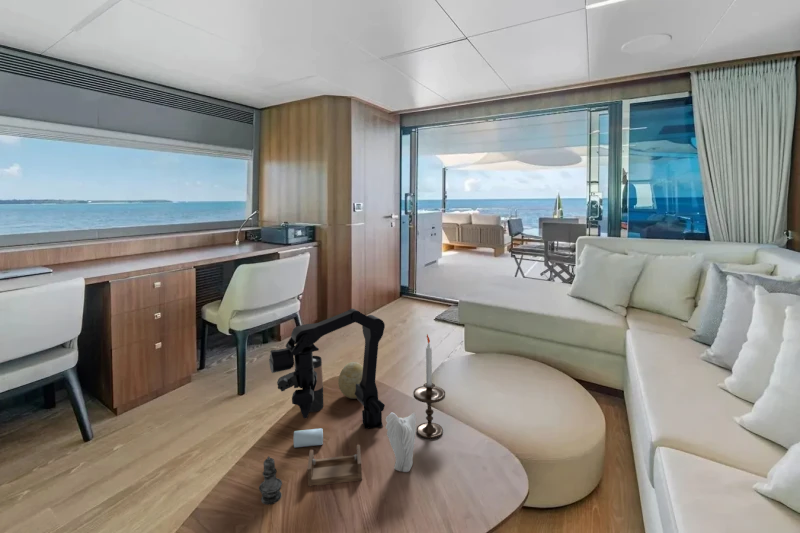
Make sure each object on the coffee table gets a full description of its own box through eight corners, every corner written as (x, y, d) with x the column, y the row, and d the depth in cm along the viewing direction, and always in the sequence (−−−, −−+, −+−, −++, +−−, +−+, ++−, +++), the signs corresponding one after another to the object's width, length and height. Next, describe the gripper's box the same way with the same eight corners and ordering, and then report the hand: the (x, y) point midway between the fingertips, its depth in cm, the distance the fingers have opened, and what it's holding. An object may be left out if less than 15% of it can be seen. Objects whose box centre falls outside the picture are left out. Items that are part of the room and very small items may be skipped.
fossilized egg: (372, 390, 166) (370, 357, 164) (366, 404, 153) (365, 368, 151) (343, 389, 167) (341, 356, 165) (335, 404, 155) (334, 368, 153)
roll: (323, 439, 131) (322, 425, 130) (322, 447, 126) (321, 433, 125) (295, 441, 129) (295, 428, 129) (294, 450, 125) (293, 436, 124)
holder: (360, 460, 119) (359, 444, 118) (361, 480, 110) (361, 463, 109) (310, 465, 117) (309, 450, 116) (308, 486, 108) (307, 469, 107)
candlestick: (408, 429, 136) (406, 332, 131) (433, 420, 141) (432, 327, 136) (425, 444, 126) (423, 341, 121) (451, 434, 131) (451, 335, 127)
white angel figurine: (420, 461, 118) (419, 406, 115) (412, 479, 110) (411, 420, 107) (394, 456, 120) (393, 402, 118) (385, 473, 113) (383, 415, 110)
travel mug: (321, 412, 148) (319, 362, 146) (302, 412, 148) (299, 363, 146) (325, 402, 156) (323, 355, 153) (307, 402, 156) (304, 355, 153)
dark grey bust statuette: (261, 508, 100) (258, 466, 98) (258, 494, 105) (255, 453, 104) (284, 500, 103) (282, 458, 101) (280, 486, 108) (277, 447, 106)
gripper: (283, 356, 132) (285, 399, 134) (272, 379, 114) (276, 428, 116) (316, 354, 134) (318, 396, 136) (311, 376, 115) (314, 425, 118)
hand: (306, 410), depth 126 cm, fingers open, 9 cm apart
